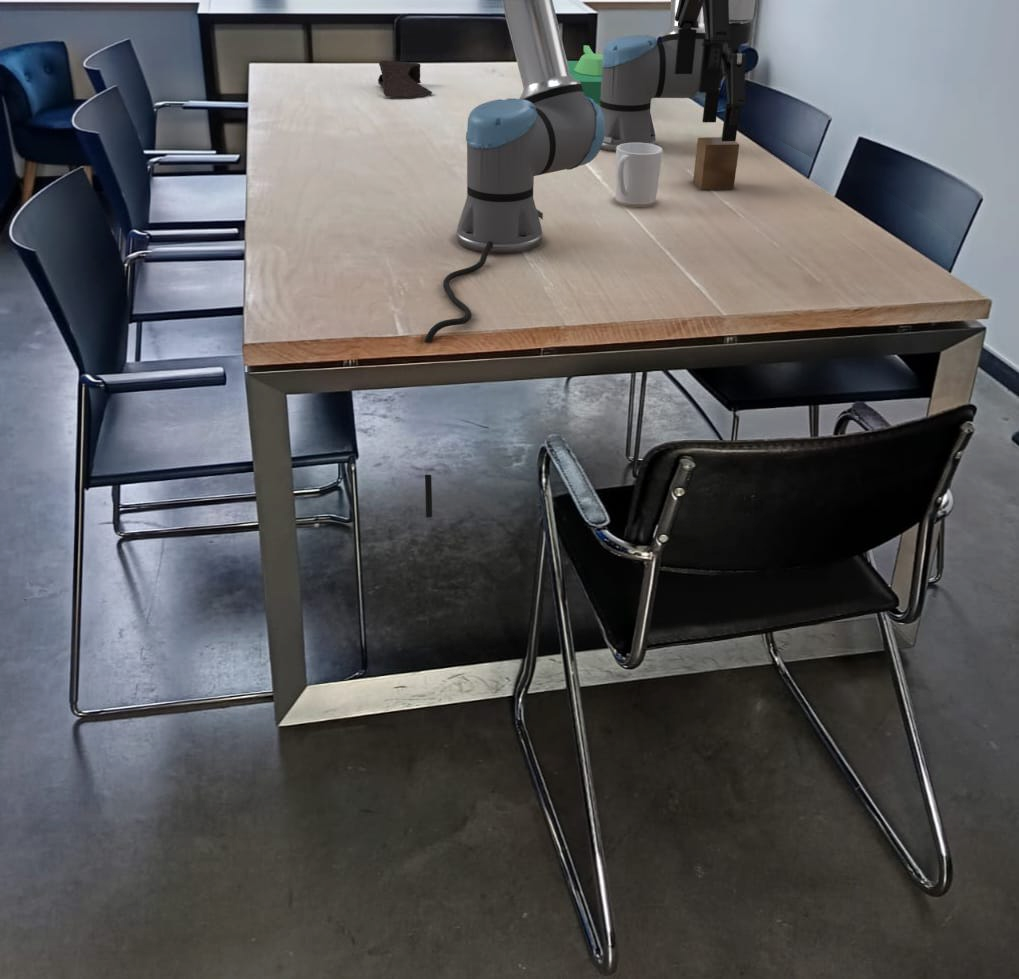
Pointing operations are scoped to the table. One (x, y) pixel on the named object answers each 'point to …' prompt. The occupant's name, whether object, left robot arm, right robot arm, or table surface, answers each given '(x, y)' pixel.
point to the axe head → (401, 79)
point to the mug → (637, 174)
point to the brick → (715, 163)
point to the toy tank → (588, 73)
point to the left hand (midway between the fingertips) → (695, 82)
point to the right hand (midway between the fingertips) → (718, 131)
